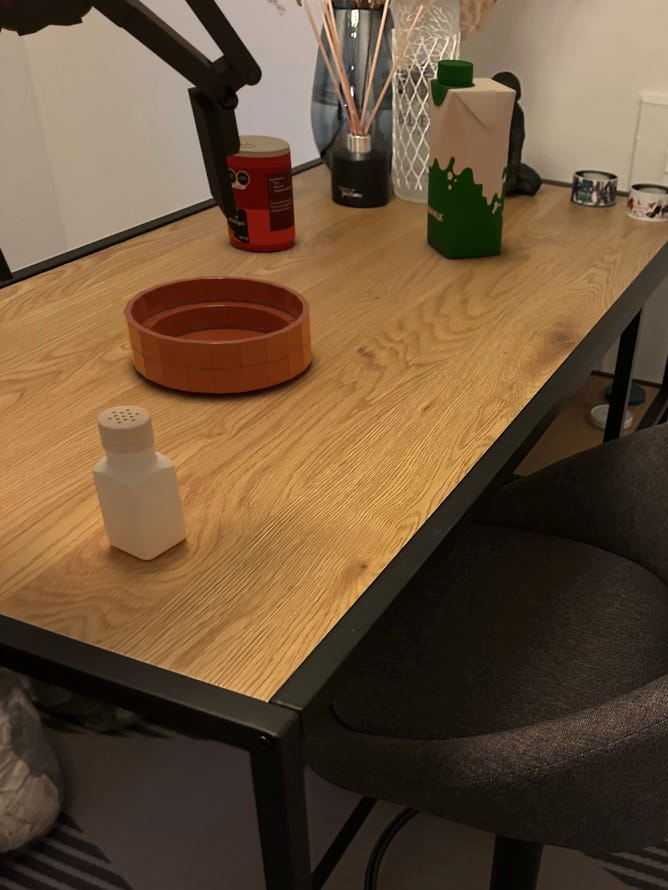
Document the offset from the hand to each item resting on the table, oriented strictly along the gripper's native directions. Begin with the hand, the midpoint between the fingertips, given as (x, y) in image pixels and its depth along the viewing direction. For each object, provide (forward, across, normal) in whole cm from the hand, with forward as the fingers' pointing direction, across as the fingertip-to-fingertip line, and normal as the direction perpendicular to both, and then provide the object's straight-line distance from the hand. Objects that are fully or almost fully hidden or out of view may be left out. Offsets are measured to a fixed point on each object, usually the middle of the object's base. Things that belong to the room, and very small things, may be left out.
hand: (116, 235), depth 56 cm
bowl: (+26, +8, +16) cm, 32 cm away
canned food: (+38, +21, +46) cm, 63 cm away
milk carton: (+39, +44, +36) cm, 69 cm away
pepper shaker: (+16, -6, -9) cm, 20 cm away
